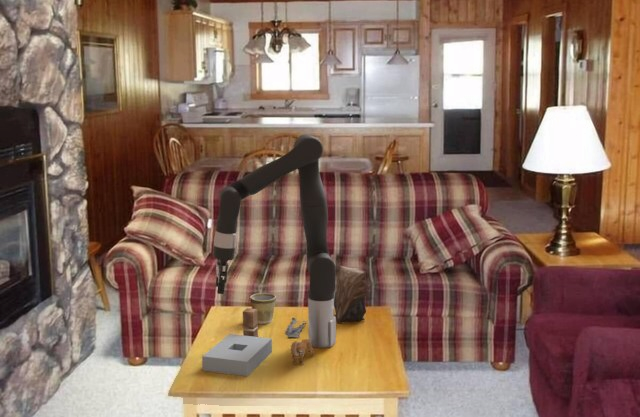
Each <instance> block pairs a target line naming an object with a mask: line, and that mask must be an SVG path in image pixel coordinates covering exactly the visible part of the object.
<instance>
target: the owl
mask: <svg viewBox="0 0 640 417" xmlns="http://www.w3.org/2000/svg"><path fill="white" fill-rule="evenodd" d="M338 269H339V270H338V274H337V277H336V290H335V293H334V314H335V317H336V324H344V323H345V324H346V323H354V322H362V321H365V318H364V316H365V314H366V313H367V308H366V304H367V303H366V298H367V295H368V289H367V278H366V277H367V271H365V270H362V269H361V267H347V266H345V265H339V268H338Z"/></svg>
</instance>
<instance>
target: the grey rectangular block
mask: <svg viewBox="0 0 640 417" xmlns="http://www.w3.org/2000/svg"><path fill="white" fill-rule="evenodd" d="M272 353H273V338H268V337H260V336H258V337H253V336H244V335H241V334H236V333H235V334H233V333H229V334H228V335H227V336H225V337H224V338H223V339H222V340H221V341H219V342H218V343H217V344H216V345H214V346H213V347H212V348H210V349H209V350H208V351H207V352H205V354H203V355H202V356H201V359H202V360H201V362H202V364H201V366H202V371H204V372H211V373H218V374H227V375H234V376H243V377H249V375H251V374H252V372H254V370H255V369H257V368H258V366H260V365H261V364H262V363H263V362H264V361H265V360H266V359H267V358H268V357H269V356H270V355H271V354H272Z"/></svg>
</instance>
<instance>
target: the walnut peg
mask: <svg viewBox="0 0 640 417" xmlns="http://www.w3.org/2000/svg"><path fill="white" fill-rule="evenodd" d="M242 328H243V329H242V334H243V335H244V336H253V337H259V325H258V316H257V309H252V308H249V307H247V308H245V309H244V310H243V311H242Z"/></svg>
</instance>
